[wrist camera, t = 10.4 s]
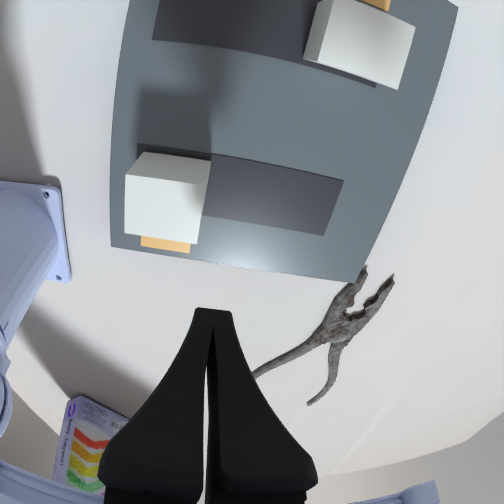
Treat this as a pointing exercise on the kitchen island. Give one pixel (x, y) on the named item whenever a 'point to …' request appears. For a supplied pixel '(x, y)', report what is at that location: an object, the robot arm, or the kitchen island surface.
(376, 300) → the pliers
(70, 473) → the cake pan box
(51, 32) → the kitchen island surface
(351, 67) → the white rectangular block
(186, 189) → the far tab
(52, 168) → the kitchen island surface
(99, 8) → the kitchen island surface
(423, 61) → the panel
